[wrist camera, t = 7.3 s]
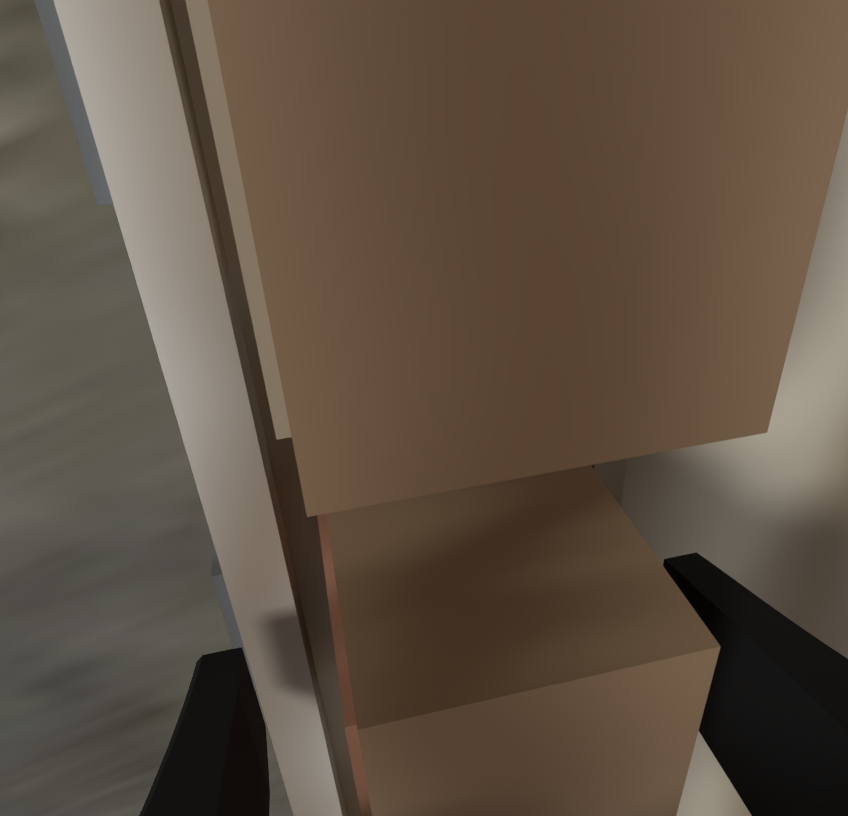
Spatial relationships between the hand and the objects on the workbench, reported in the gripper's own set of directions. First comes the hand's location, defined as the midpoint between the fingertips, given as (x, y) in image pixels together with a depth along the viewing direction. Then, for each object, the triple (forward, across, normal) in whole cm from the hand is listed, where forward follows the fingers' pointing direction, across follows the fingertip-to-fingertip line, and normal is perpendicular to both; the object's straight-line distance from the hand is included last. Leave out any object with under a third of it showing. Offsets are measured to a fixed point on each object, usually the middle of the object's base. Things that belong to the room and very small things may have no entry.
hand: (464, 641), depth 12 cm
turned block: (+2, 0, 0) cm, 2 cm away
